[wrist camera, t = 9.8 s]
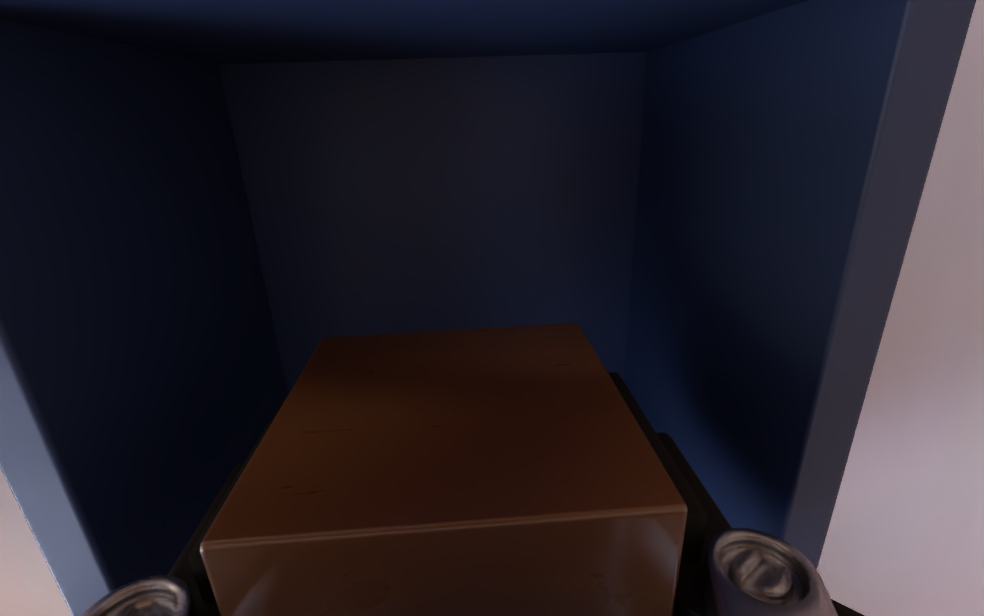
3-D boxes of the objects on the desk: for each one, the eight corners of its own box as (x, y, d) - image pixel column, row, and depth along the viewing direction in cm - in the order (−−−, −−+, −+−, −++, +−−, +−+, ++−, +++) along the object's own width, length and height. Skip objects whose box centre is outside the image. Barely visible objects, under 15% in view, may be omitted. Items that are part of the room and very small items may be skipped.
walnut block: (355, 535, 11) (286, 828, 7) (321, 336, 10) (192, 546, 5) (572, 518, 12) (651, 787, 7) (578, 320, 10) (691, 508, 5)
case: (193, 33, 14) (-291, -117, 5) (668, 20, 15) (1015, -129, 6) (300, 510, 20) (175, 834, 11) (628, 485, 21) (762, 768, 12)
